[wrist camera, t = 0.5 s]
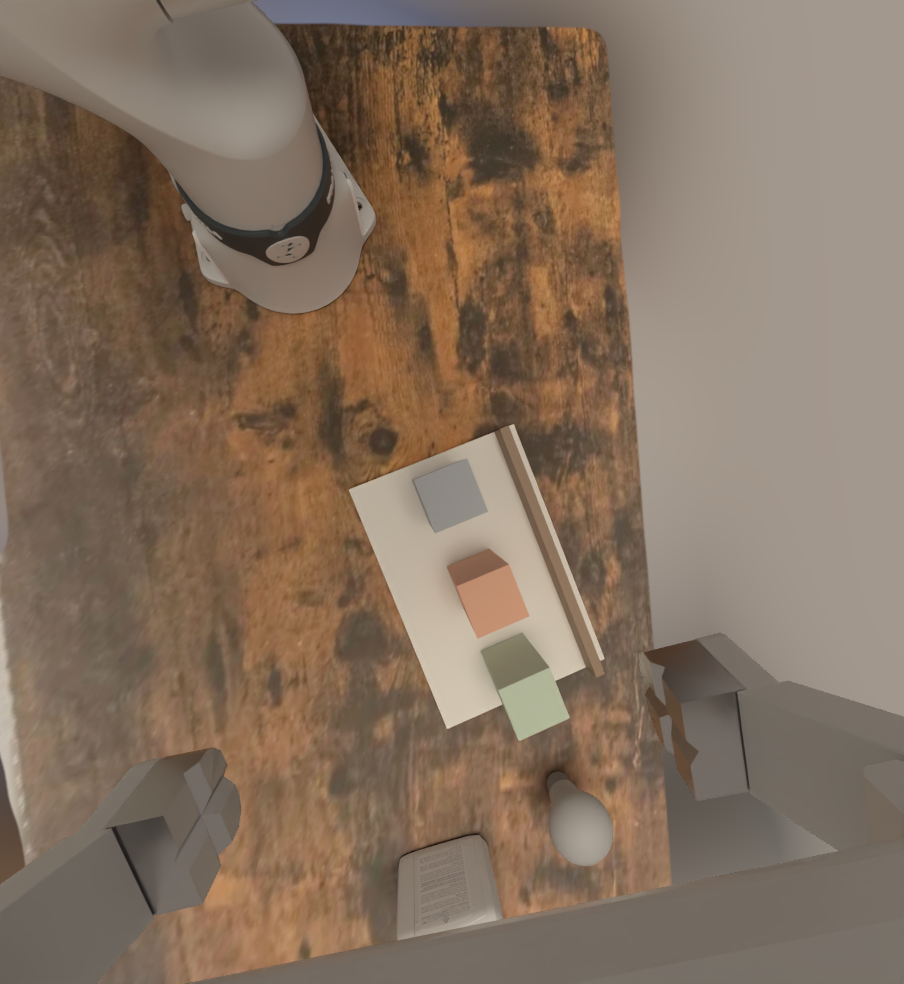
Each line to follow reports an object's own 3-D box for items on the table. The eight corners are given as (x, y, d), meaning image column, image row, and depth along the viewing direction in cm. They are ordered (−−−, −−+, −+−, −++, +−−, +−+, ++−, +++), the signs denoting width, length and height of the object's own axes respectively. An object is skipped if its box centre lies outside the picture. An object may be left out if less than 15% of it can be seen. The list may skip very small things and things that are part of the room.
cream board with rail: (349, 489, 53) (345, 490, 49) (511, 425, 55) (520, 420, 50) (446, 723, 55) (449, 743, 51) (600, 654, 56) (616, 668, 52)
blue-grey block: (411, 479, 52) (413, 479, 42) (455, 462, 53) (467, 458, 43) (429, 523, 53) (435, 533, 43) (472, 505, 53) (488, 511, 43)
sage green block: (480, 651, 53) (498, 690, 44) (522, 633, 54) (549, 667, 44) (497, 692, 54) (518, 741, 44) (539, 674, 54) (569, 718, 44)
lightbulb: (541, 813, 56) (575, 894, 45) (520, 766, 56) (549, 836, 45) (589, 789, 57) (634, 862, 46) (568, 742, 56) (608, 805, 45)
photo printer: (402, 890, 55) (402, 1009, 42) (393, 854, 55) (390, 963, 42) (491, 862, 56) (516, 971, 43) (483, 826, 55) (505, 925, 43)
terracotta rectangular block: (446, 566, 53) (456, 586, 43) (489, 548, 53) (509, 564, 43) (463, 609, 53) (477, 638, 43) (506, 591, 54) (529, 616, 44)
